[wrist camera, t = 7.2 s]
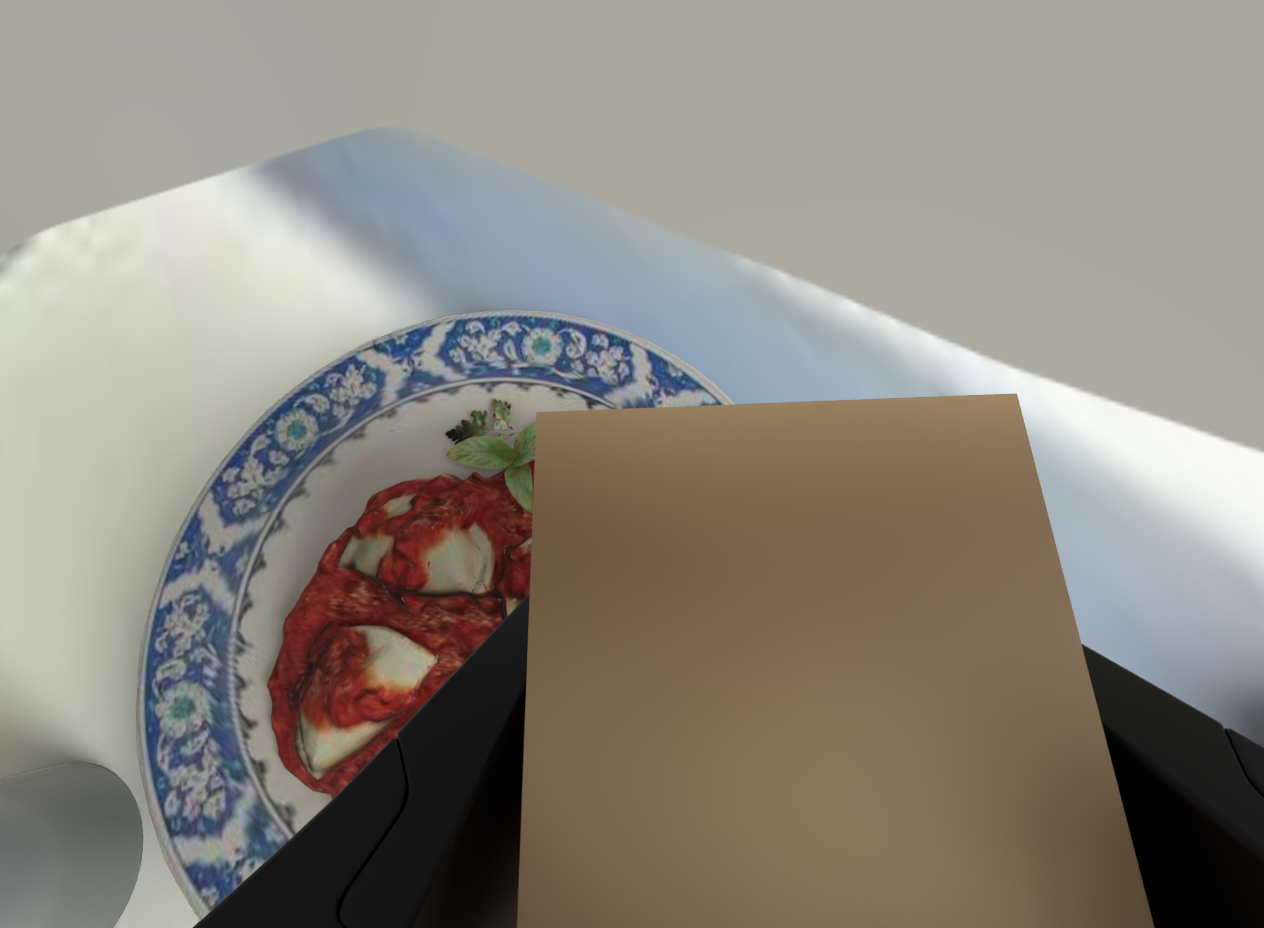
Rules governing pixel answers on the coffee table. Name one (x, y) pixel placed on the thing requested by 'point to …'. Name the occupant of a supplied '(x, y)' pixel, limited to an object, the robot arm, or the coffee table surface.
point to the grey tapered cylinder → (67, 847)
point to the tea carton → (809, 677)
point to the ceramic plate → (355, 568)
